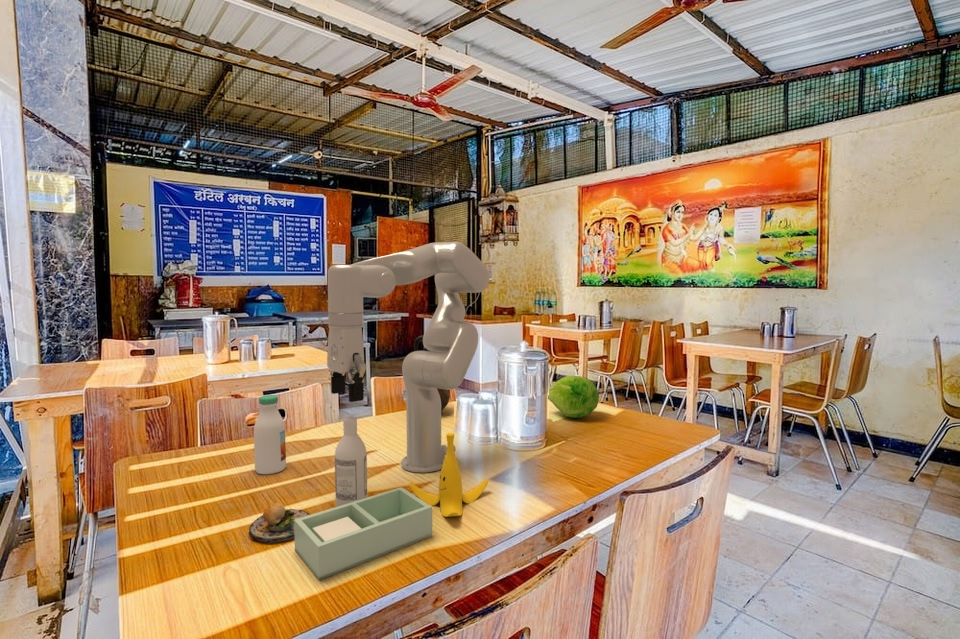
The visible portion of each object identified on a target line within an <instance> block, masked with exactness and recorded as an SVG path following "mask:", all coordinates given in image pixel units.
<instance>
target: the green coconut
mask: <svg viewBox="0 0 960 639" xmlns="http://www.w3.org/2000/svg"><path fill="white" fill-rule="evenodd" d="M548 389H549V395H548V399H547V400H548V401H550V402H551V403H552V404H553V406H554V407H555V408H556V409H557V410H558V411H560V413H561V414H562V415H564V416H566V417H568V418H572V419H581V418H585V417H586V416H589V415H591V414H592V413H593V411H594V410H596V408H597V407H598V404H599V399H600V394H599V390H598V388H597V387H596V385H595V383H594V382H593V381H592V380H591V379H589V378H587V377H585V376H582V375H581V376H580V375H566V376H564V377H561V378H560V379H558V380H557V381H555V382H554V383H553V384H552V385H551V386H550V387H549V388H548Z"/></svg>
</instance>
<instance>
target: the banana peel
mask: <svg viewBox="0 0 960 639" xmlns="http://www.w3.org/2000/svg"><path fill="white" fill-rule="evenodd" d="M445 435H446V442H447V444H446V447H447V452H446V455H445V459H444V462H443V465H442V469H440V475H439V483H438V494H432V493H430V492H427V491H424V490H423V489H422V488H420V487H418V486H417V485H415V484H414V483H413V482H410V483H408V486H409V488H410V490H411V491H412V493H414V494H415V496H416V497H417V498H419V499H421V500H422V501H424V502H425V503H427V504H428V505H430V506H431V507H433V506H434V507H435V506H436V505H437V504H439V506H440V507H439V508H440V513H441V516H443V517H447V518H448V517H449V518H450V517H460V516H461V517H462V515H463V514H464V513H463V512H464V510H463V503H465V504H468V505H469V504H472V503H475V501H476V500H477V499H478V498H479V497H480V496H481V495H482V493H483V492H484V490H485V488H486V487H487V485H488V483H489V481H490V480H489V479H488V478H484V479H483V480H482V481H481V482H480V483H479V484H478V485H477V486H475V487H474V488H472V489H470V490H468V491H466V492H464V493H463V483H462V475H461V471H460V466H459V462H458V460H457V456H456V455H455V454H456V453H455V452H454V447H453V445H454V442H455V440H454V439H455V432H448V433H446V434H445Z"/></svg>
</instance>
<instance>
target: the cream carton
mask: <svg viewBox="0 0 960 639" xmlns="http://www.w3.org/2000/svg"><path fill="white" fill-rule="evenodd" d="M359 529H361V528H360V527H359V526H358V525H357V524H356V523H354V522H353V521H352V520H351V519H350V518H349V517H345V518H342V519H339V520H336V521H333V522H329V523H326V524H323V525H320V526H317V527H314V528H312V532H313V533H314V534H315V535H316V537H317V538H318V539H319V540H320V541H321V542H325V541H327V540H330V539H333V538H336V537H339V536H342V535H345V534H348V533H350V532H353V531H356V530H359Z"/></svg>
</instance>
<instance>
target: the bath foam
mask: <svg viewBox="0 0 960 639" xmlns="http://www.w3.org/2000/svg"><path fill="white" fill-rule="evenodd" d="M342 420H343V422H342V424H343V435H342V436H341V438H340V439H339V442H338V443H337V446H336V448H335V451H334V453H335V454H334V478H335V479H334V480H335V481H334V482H335V486H334V487H335V490H334V491H335V507H338V506H341V505H344V504H348V503H351V502H354V501H357V500H361V499H364V498H367V497H368V458H367V457H368V456H367V455H368V453H367V448H366V445H365V442H364V440H363V439H362V438H361V437H360V436H359V434H358V423H357V422H358V418H357V417H356V416H347V417H344V418H343V419H342Z"/></svg>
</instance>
